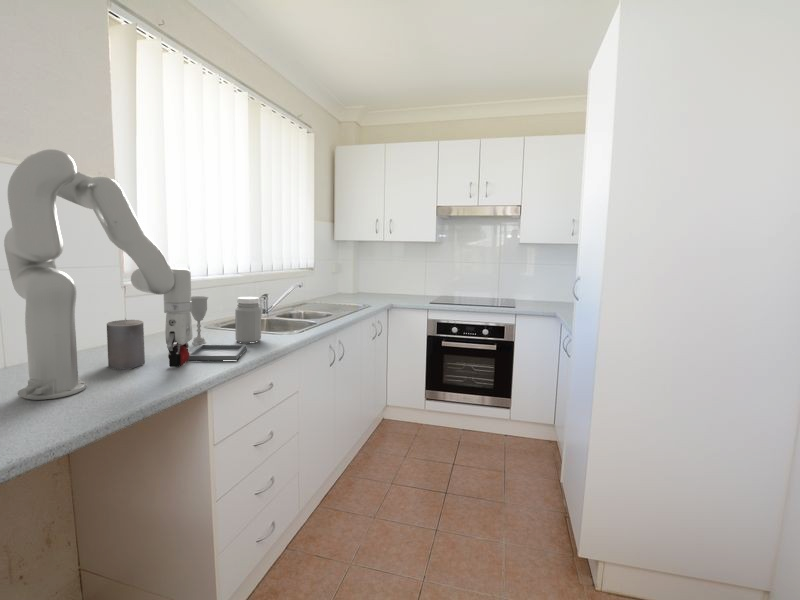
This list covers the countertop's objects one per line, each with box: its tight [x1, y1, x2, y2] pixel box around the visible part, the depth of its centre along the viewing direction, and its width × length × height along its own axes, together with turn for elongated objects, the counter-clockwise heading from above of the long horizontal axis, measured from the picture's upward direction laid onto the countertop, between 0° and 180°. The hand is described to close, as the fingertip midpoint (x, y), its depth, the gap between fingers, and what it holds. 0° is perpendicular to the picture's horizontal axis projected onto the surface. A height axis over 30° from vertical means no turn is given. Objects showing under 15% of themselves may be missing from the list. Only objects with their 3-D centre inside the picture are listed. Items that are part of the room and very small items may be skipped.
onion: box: [167, 342, 190, 367], centre depth 130 cm, size 6×6×8 cm
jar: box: [234, 295, 262, 344], centre depth 167 cm, size 10×10×18 cm
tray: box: [188, 343, 247, 361], centre depth 145 cm, size 16×16×2 cm
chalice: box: [190, 295, 209, 345], centre depth 161 cm, size 7×7×18 cm
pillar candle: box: [106, 317, 146, 370], centre depth 129 cm, size 10×10×15 cm
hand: (179, 363), depth 130 cm, fingers closed on onion, 5 cm apart
